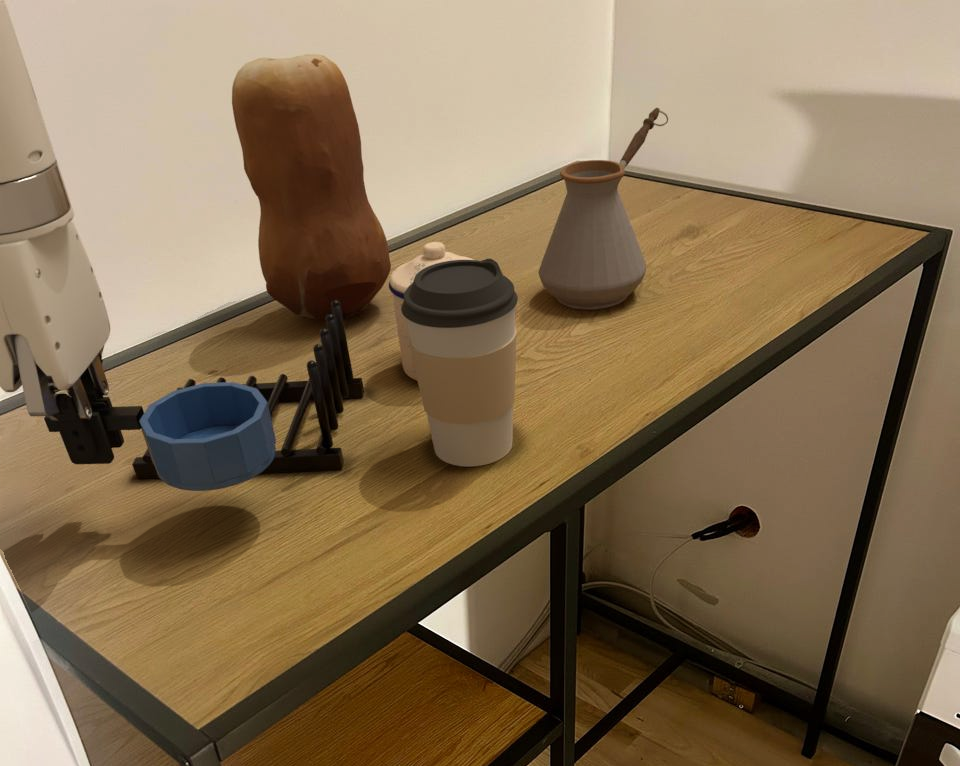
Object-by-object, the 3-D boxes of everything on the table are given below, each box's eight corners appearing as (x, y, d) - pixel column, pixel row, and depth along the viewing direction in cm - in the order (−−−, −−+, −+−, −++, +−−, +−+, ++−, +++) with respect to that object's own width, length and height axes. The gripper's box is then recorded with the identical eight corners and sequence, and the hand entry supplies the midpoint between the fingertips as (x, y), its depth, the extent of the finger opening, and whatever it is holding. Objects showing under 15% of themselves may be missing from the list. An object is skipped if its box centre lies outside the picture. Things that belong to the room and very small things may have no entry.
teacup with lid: (407, 393, 90) (389, 269, 82) (395, 353, 97) (378, 235, 89) (530, 373, 91) (525, 249, 83) (510, 335, 98) (503, 217, 90)
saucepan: (44, 494, 70) (22, 444, 67) (87, 432, 77) (69, 384, 74) (261, 490, 69) (249, 438, 66) (286, 427, 75) (275, 378, 73)
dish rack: (137, 479, 82) (99, 378, 76) (182, 401, 93) (152, 307, 86) (342, 469, 81) (321, 365, 74) (364, 391, 91) (347, 295, 85)
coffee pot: (615, 324, 98) (617, 167, 88) (519, 307, 103) (512, 157, 93) (700, 253, 110) (710, 109, 101) (611, 241, 116) (613, 102, 106)
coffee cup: (442, 484, 78) (419, 304, 68) (406, 435, 84) (381, 264, 74) (543, 455, 80) (535, 276, 70) (500, 410, 86) (488, 240, 76)
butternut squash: (344, 281, 113) (301, 35, 96) (420, 306, 105) (388, 44, 89) (248, 321, 106) (184, 64, 89) (323, 351, 98) (268, 76, 82)
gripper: (0, 166, 66) (87, 405, 79) (-114, 248, 55) (9, 514, 67) (104, 161, 66) (176, 403, 78) (12, 243, 54) (113, 511, 67)
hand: (98, 452), depth 73 cm, fingers closed on saucepan, 1 cm apart
